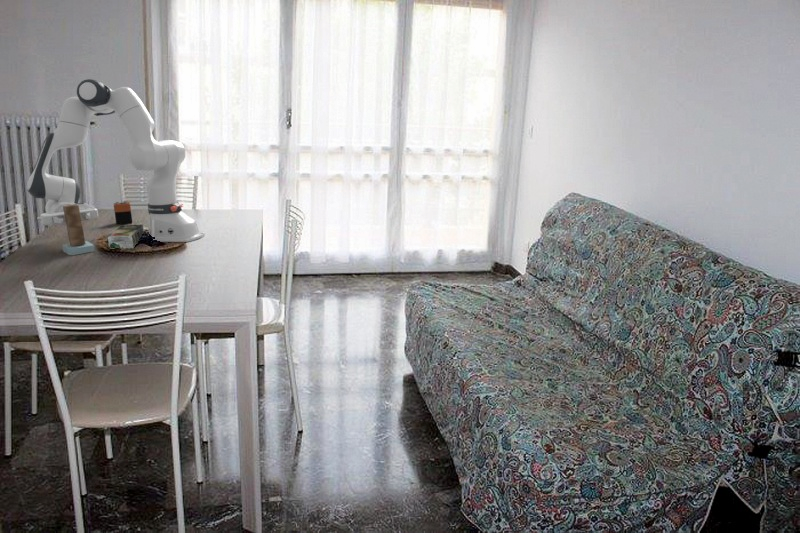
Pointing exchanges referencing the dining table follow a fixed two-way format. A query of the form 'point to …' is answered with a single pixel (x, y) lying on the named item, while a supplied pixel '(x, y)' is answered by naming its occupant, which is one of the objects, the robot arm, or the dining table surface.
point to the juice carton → (126, 236)
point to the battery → (122, 213)
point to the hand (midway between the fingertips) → (74, 219)
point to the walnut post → (74, 225)
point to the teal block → (78, 248)
